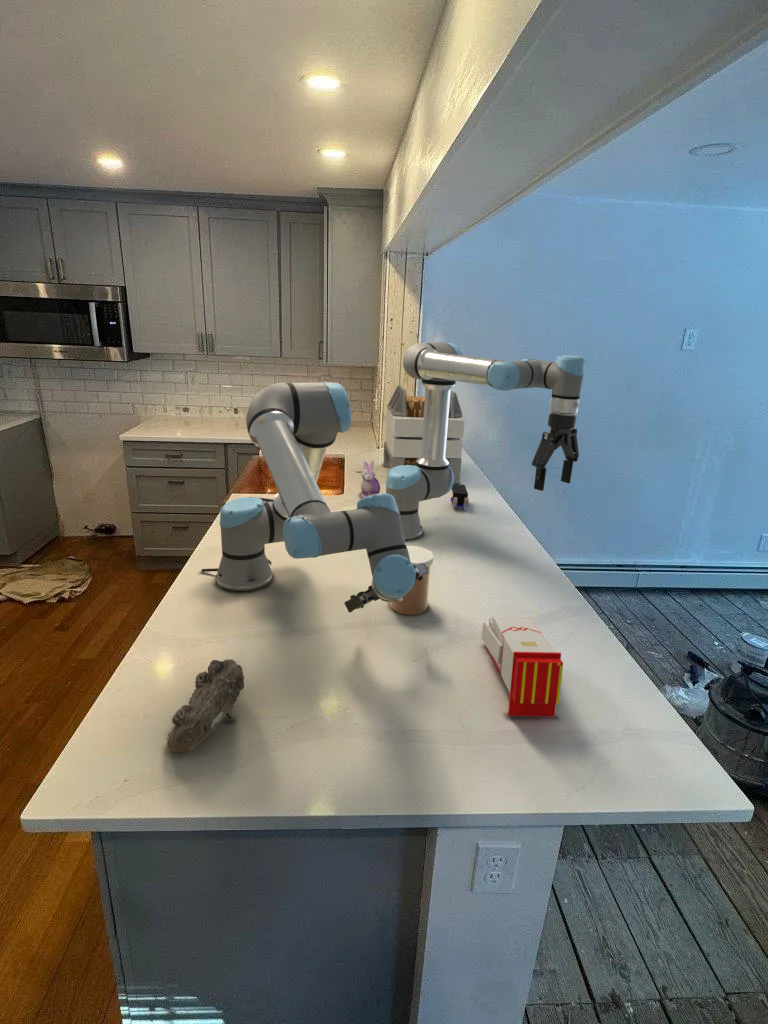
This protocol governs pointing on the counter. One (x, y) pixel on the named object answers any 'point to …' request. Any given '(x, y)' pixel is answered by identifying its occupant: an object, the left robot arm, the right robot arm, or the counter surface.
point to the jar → (414, 598)
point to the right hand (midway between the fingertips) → (552, 485)
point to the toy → (525, 665)
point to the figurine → (369, 481)
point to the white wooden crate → (419, 431)
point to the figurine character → (459, 496)
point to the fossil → (206, 705)
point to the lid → (420, 555)
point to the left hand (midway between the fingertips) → (385, 589)
